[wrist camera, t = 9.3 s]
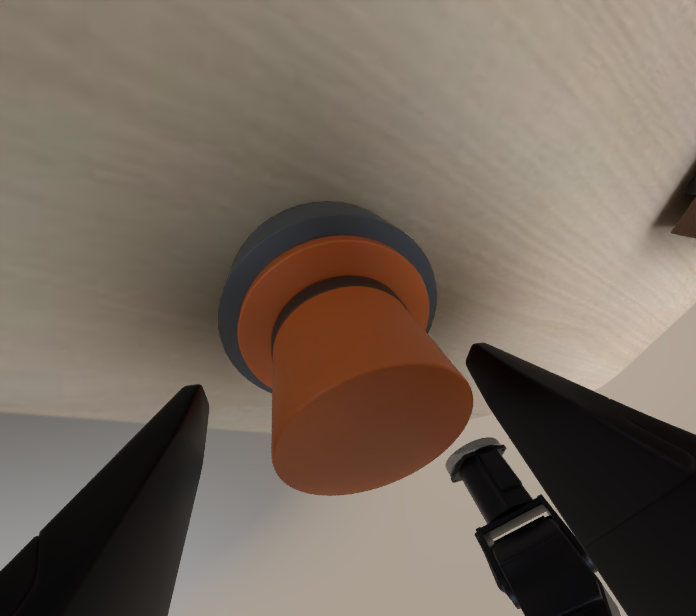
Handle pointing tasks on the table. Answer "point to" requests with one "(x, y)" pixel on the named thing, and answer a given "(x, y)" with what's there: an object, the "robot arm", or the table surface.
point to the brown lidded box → (688, 216)
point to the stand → (294, 231)
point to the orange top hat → (350, 366)
